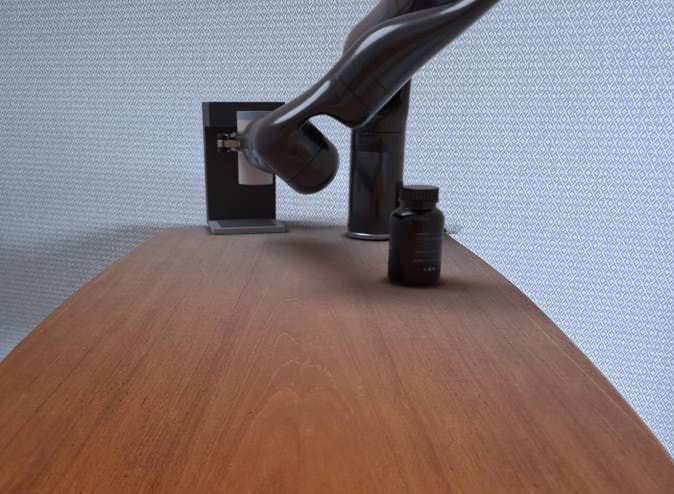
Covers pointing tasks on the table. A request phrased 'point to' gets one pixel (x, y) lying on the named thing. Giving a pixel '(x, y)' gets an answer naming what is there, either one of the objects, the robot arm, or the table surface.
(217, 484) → the table surface
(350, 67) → the robot arm
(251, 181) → the container
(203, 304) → the table surface
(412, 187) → the supplement bottle
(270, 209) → the coffee maker
